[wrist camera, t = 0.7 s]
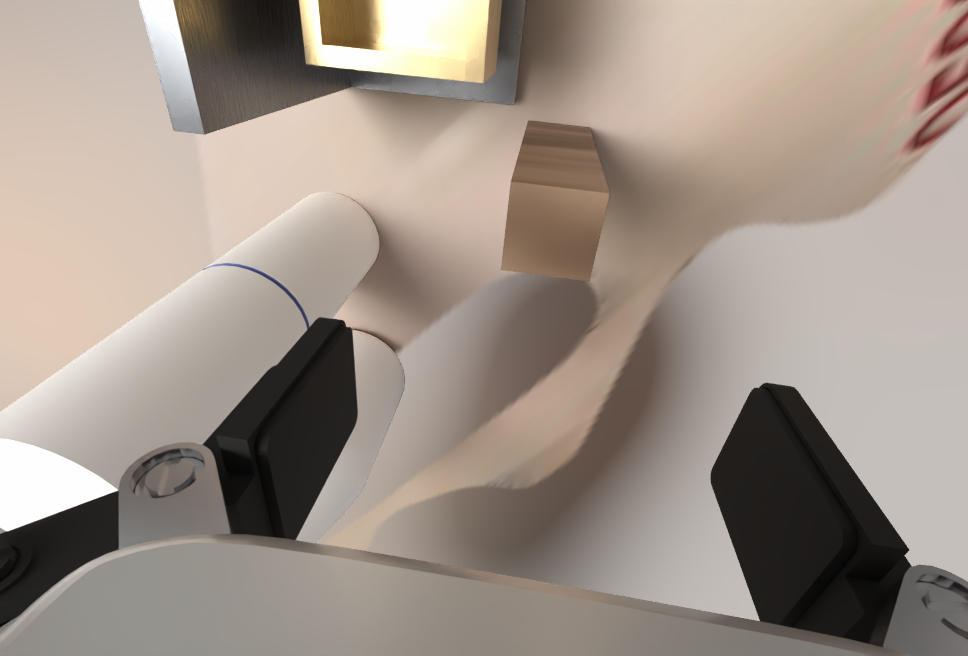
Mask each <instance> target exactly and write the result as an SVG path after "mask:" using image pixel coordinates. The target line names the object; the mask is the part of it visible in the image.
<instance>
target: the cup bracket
mask: <svg viewBox="0 0 968 656" xmlns="http://www.w3.org/2000/svg"><path fill="white" fill-rule="evenodd" d="M139 3H140V7H141V11H142V15H143V18H144V21H145V26H146V29H147V33H148V37H149V41H150V44H151V48H152V52H153V55H154V59H155V63H156V66H157V70H158V74H159V77H160V82H161V85H162V89H163V93H164V96H165V100H166V103H167V107H168V111H169V115H170V119H171V122H172V126H173V130H174V131H180V132H188V133H196V134H207V133H211V132H214V131H217V130H220V129H223V128H226V127H229V126H232V125H235V124H238V123H242V122H245V121H248V120H251V119H254V118H257V117H260V116H263V115H266V114H270V113H273V112H276V111H279V110H282V109H285V108H288V107H291V106H294V105H298V104H301V103H304V102H307V101H310V100H313V99H316V98H319V97H322V96H325V95H329V94H332V93H335V92H338V91H341V90H344V89H347V88H350V87H354V88H363V89H373V90H382V91H391V92H400V93H409V94H418V95H427V96H436V97H445V98H454V99H463V100H472V101H482V102H491V103H500V104H509V105H514V103H515V98H516V89H517V80H518V70H519V61H520V52H521V43H522V33H523V24H524V15H525V5H526V0H139Z"/></svg>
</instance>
